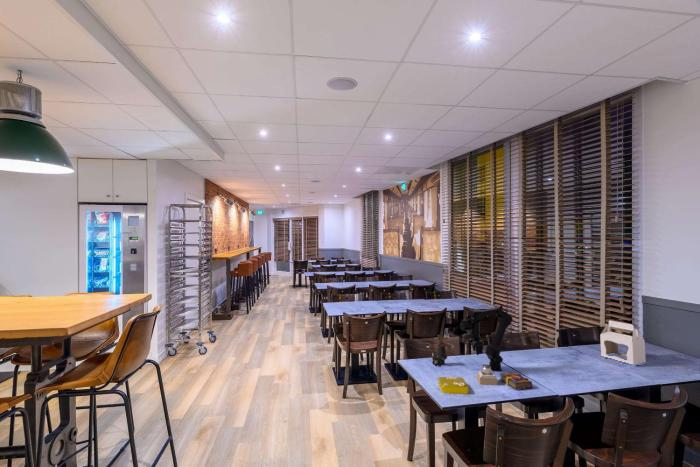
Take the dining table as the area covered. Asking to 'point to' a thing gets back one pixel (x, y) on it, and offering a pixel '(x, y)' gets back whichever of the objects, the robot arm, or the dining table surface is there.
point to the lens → (486, 369)
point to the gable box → (633, 342)
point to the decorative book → (516, 381)
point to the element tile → (453, 385)
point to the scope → (439, 356)
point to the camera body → (486, 379)
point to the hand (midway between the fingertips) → (475, 352)
